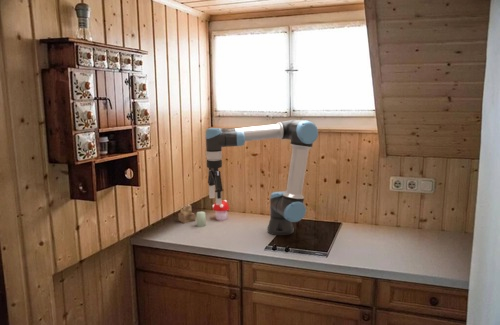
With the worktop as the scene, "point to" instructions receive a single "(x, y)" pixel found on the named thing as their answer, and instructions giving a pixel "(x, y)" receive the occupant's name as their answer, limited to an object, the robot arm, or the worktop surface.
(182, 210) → the tower top
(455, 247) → the worktop surface
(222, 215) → the mushroom
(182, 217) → the tower base
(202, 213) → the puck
